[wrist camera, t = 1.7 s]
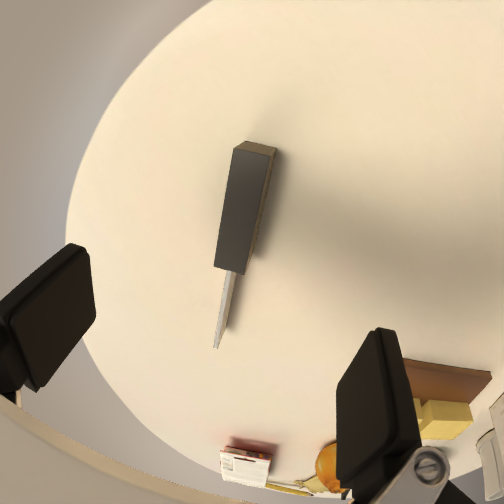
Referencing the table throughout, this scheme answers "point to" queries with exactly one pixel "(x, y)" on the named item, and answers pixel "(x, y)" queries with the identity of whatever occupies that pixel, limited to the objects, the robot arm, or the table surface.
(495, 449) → the cup
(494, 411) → the white product box
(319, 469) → the fruit
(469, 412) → the butter stick
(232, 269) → the knife
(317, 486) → the hand fan
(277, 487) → the pencil
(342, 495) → the folding knife
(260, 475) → the ink box
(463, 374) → the board
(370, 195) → the table surface
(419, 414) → the butter pat
